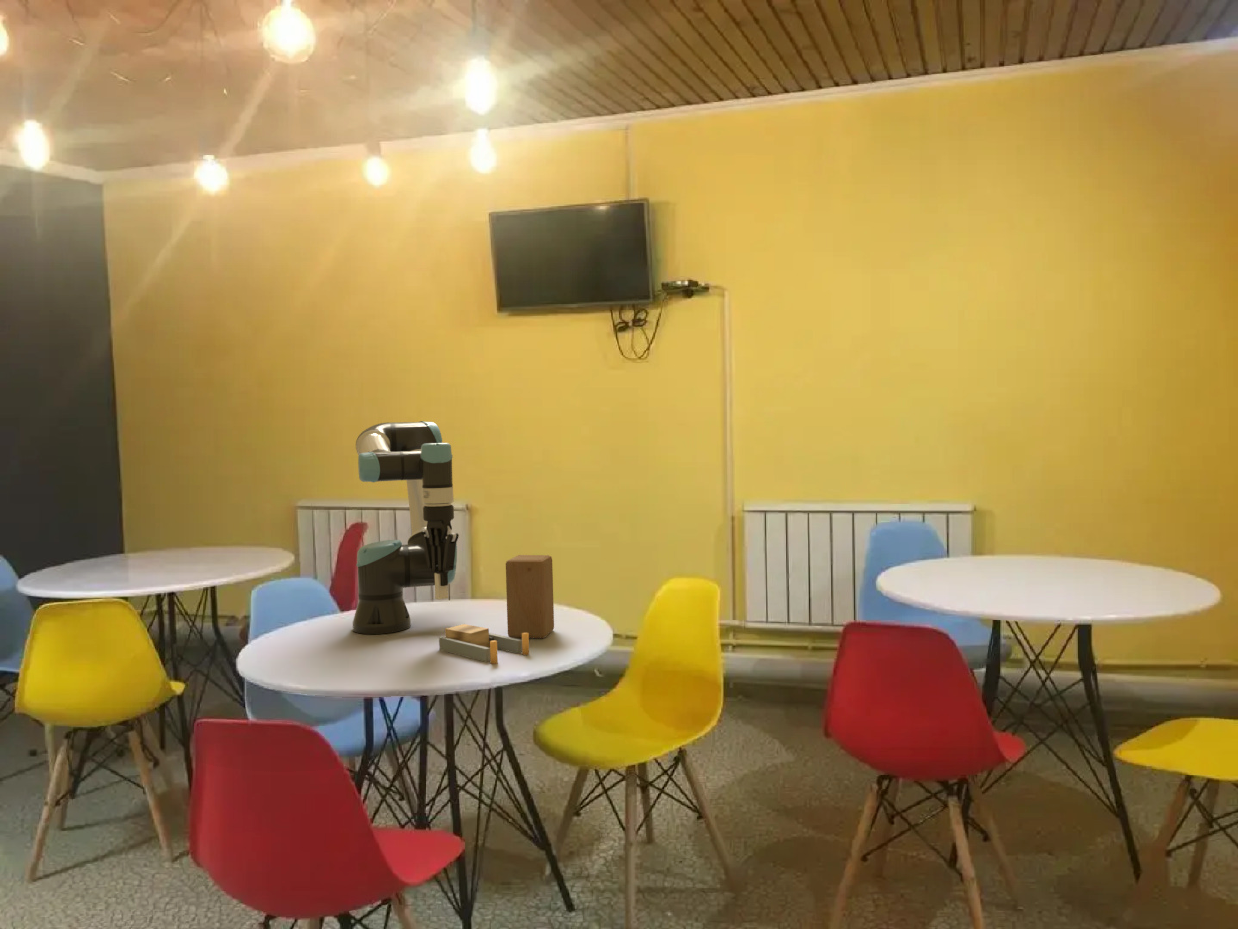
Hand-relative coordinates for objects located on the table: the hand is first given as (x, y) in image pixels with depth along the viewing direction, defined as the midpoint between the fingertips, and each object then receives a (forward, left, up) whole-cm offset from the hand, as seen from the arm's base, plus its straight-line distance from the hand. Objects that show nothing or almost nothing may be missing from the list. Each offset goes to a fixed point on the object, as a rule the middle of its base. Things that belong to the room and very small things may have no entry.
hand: (441, 598), depth 230 cm
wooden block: (+12, +19, -11) cm, 25 cm away
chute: (+16, 0, -11) cm, 20 cm away
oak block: (+10, 0, -11) cm, 15 cm away
